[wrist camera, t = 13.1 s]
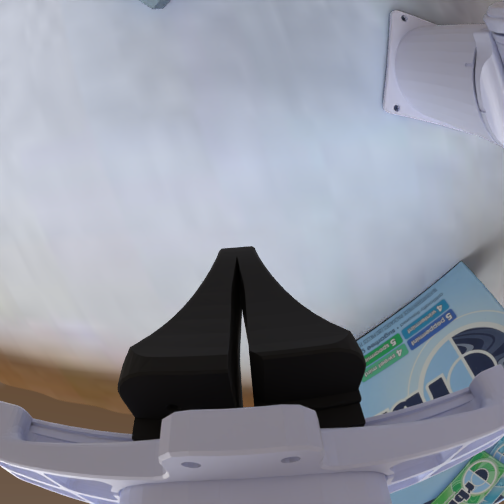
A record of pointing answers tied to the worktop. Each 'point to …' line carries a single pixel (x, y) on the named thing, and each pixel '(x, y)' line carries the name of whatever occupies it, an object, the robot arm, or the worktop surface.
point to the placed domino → (155, 3)
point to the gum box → (439, 375)
